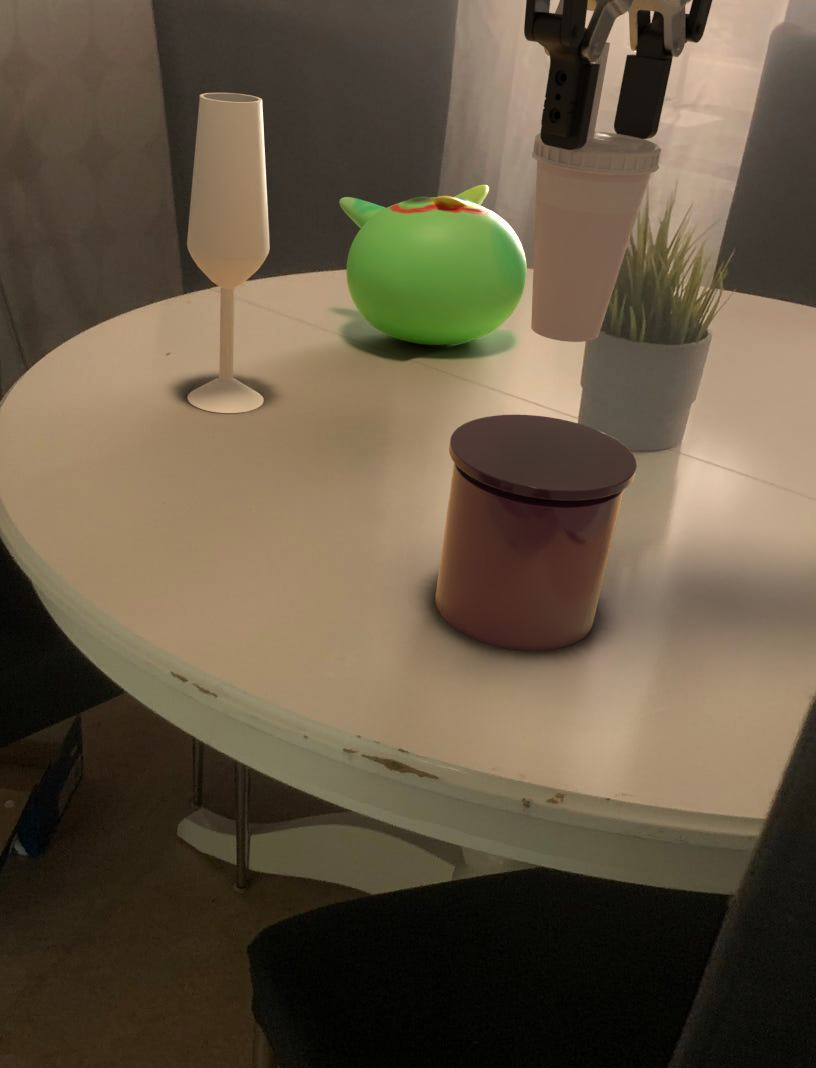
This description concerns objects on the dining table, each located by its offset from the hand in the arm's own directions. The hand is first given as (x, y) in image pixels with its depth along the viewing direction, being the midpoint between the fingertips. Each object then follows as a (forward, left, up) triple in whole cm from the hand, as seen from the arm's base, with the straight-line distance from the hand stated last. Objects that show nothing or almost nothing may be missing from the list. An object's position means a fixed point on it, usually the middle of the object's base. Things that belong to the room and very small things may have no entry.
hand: (599, 140), depth 56 cm
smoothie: (0, 0, -10) cm, 10 cm away
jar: (0, 0, -28) cm, 28 cm away
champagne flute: (-10, -38, -28) cm, 48 cm away
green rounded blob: (-38, -38, -28) cm, 60 cm away
